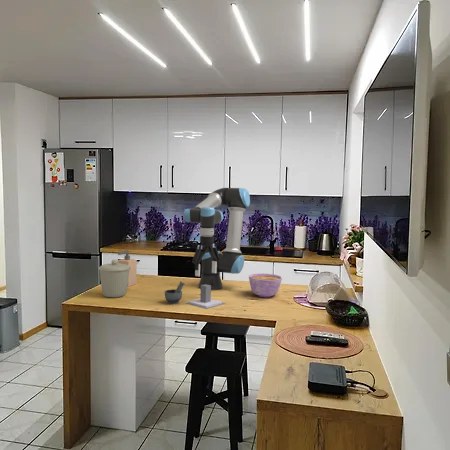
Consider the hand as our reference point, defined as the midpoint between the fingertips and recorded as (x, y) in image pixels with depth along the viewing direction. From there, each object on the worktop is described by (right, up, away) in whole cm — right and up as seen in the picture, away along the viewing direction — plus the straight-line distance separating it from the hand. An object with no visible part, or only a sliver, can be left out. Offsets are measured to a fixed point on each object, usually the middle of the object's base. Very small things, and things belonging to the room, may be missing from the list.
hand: (205, 274), depth 244 cm
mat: (0, -17, +2) cm, 17 cm away
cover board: (0, -16, +2) cm, 16 cm away
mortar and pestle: (-17, -16, +1) cm, 24 cm away
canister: (-54, -14, +15) cm, 57 cm away
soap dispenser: (-54, -12, +42) cm, 69 cm away
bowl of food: (+34, -16, +25) cm, 45 cm away
